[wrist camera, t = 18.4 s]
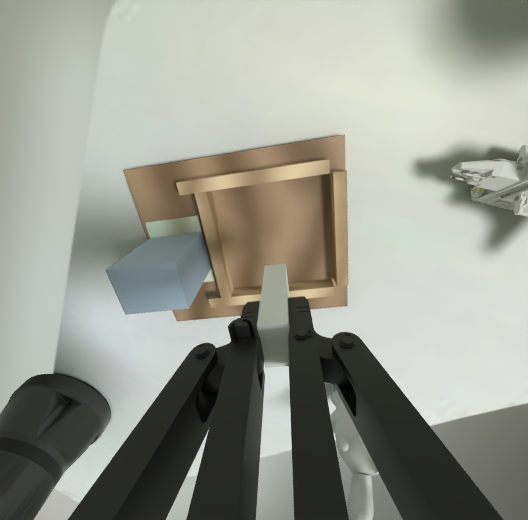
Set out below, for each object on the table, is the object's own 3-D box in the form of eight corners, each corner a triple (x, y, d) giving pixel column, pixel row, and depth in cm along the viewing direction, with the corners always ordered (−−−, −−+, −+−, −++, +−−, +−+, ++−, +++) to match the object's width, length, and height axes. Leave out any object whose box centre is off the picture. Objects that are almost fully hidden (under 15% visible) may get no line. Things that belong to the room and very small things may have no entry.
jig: (180, 315, 34) (171, 330, 31) (129, 169, 27) (112, 172, 24) (345, 300, 32) (351, 314, 29) (341, 135, 24) (349, 133, 21)
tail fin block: (162, 273, 30) (125, 314, 23) (150, 238, 28) (105, 270, 21) (211, 268, 29) (188, 308, 22) (201, 231, 27) (174, 262, 20)
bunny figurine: (335, 405, 40) (364, 539, 26) (312, 389, 39) (330, 522, 25) (383, 373, 37) (444, 508, 23) (358, 355, 35) (408, 486, 22)
